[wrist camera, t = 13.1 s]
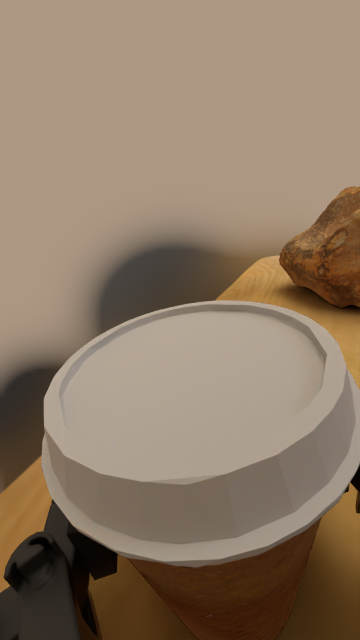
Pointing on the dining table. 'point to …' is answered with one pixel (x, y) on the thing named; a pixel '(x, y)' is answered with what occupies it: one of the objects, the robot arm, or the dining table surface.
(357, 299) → the rough brown rock
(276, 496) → the disposable coffee cup
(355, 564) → the dining table surface
